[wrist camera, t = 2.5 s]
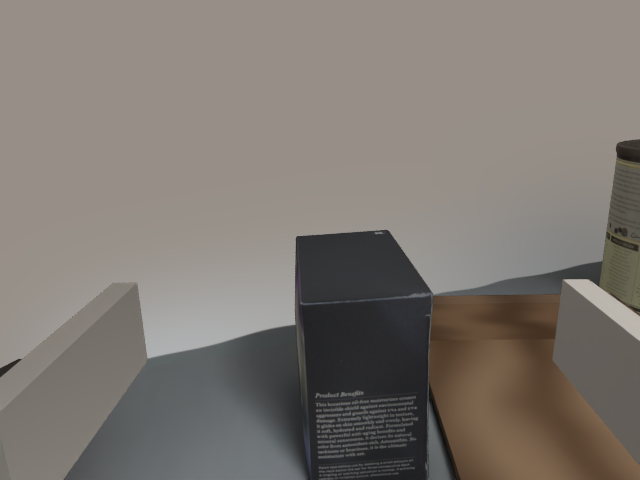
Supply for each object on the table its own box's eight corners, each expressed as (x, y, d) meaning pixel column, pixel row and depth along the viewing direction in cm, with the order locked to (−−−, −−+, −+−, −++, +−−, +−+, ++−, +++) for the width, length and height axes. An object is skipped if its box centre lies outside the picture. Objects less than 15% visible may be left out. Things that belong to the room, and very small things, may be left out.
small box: (298, 375, 34) (291, 232, 31) (390, 369, 35) (392, 227, 32) (303, 493, 24) (293, 298, 21) (432, 483, 25) (441, 290, 22)
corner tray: (605, 335, 38) (611, 293, 37) (785, 498, 23) (804, 434, 22) (412, 338, 39) (413, 296, 38) (462, 498, 24) (467, 435, 22)
